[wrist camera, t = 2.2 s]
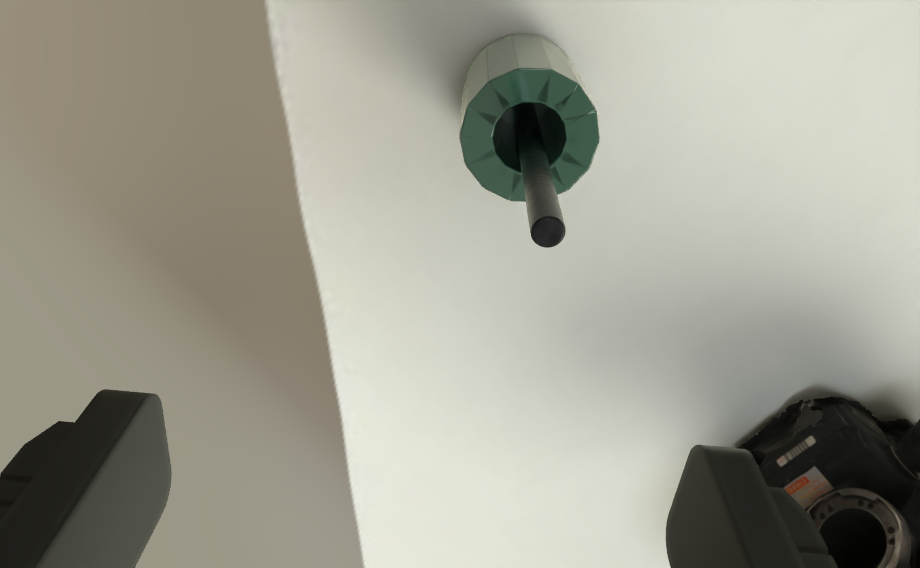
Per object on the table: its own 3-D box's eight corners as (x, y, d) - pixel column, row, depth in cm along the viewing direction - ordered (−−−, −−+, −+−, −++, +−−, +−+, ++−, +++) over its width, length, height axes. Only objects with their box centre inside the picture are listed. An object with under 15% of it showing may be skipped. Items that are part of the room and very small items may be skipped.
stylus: (507, 103, 33) (526, 243, 20) (513, 82, 33) (536, 213, 20) (528, 108, 34) (559, 252, 21) (534, 88, 33) (570, 221, 20)
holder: (451, 132, 35) (446, 185, 29) (481, 18, 32) (481, 50, 26) (556, 159, 35) (572, 216, 29) (593, 49, 33) (619, 87, 27)
